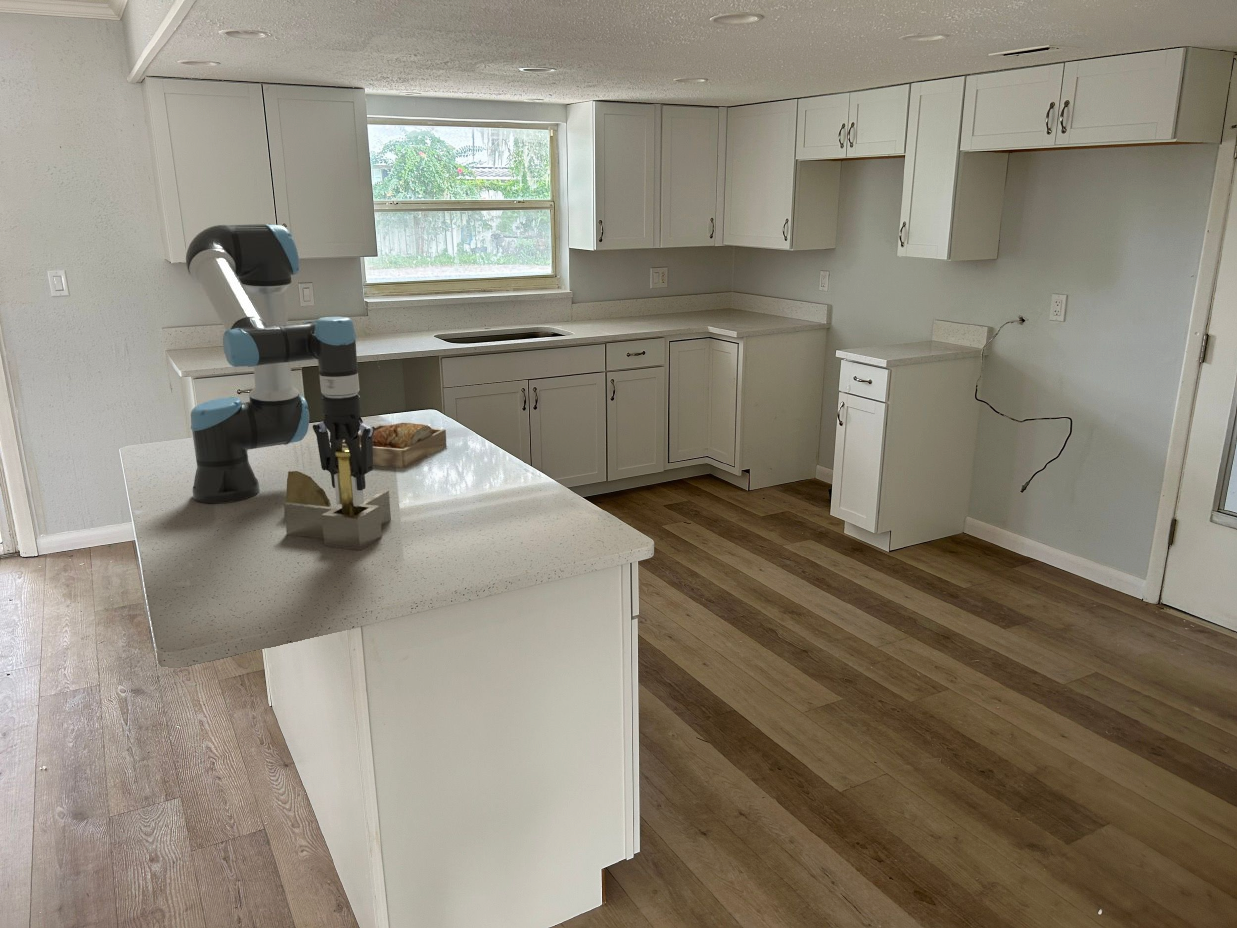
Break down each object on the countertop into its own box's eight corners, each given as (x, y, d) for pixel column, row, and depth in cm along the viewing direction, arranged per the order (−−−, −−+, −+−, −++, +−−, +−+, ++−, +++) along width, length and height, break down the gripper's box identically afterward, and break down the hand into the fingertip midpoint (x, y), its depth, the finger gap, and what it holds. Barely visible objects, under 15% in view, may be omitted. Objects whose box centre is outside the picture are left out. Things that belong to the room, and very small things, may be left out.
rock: (332, 491, 215) (289, 489, 212) (332, 470, 208) (287, 467, 206) (328, 529, 208) (283, 527, 206) (328, 508, 202) (282, 506, 199)
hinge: (276, 540, 190) (272, 509, 188) (326, 512, 207) (324, 483, 205) (360, 550, 185) (357, 518, 183) (405, 521, 202) (403, 491, 200)
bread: (402, 468, 243) (400, 432, 240) (348, 460, 249) (345, 426, 247) (443, 449, 261) (442, 416, 258) (392, 443, 268) (390, 411, 265)
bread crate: (335, 461, 248) (333, 444, 247) (381, 440, 270) (379, 424, 269) (405, 467, 242) (404, 450, 241) (446, 445, 264) (445, 429, 263)
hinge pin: (337, 525, 187) (330, 452, 182) (348, 518, 191) (342, 447, 186) (354, 527, 186) (348, 453, 181) (365, 520, 190) (359, 448, 185)
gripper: (294, 395, 179) (305, 505, 186) (366, 400, 175) (375, 512, 181) (316, 388, 186) (327, 494, 193) (386, 393, 182) (394, 501, 188)
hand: (350, 503), depth 187 cm, fingers closed on hinge pin, 3 cm apart
